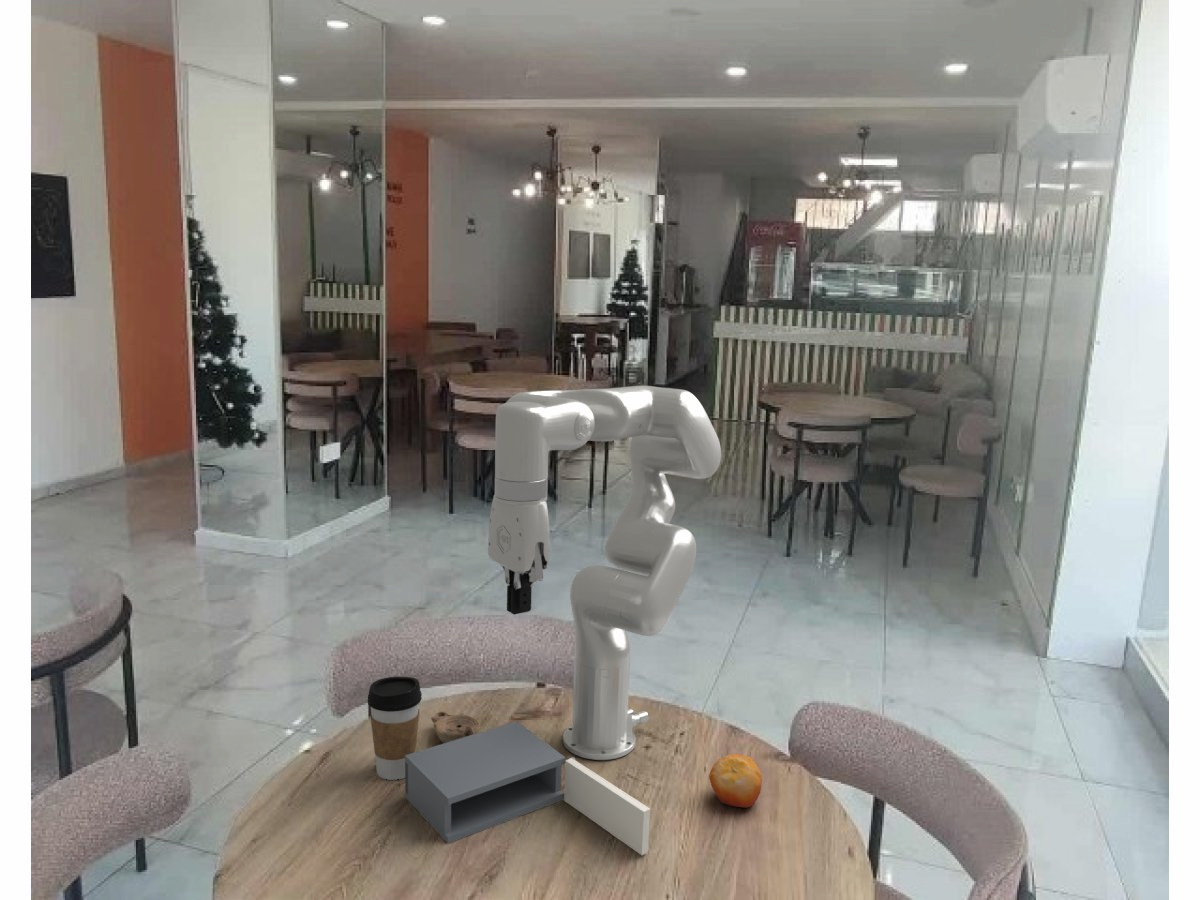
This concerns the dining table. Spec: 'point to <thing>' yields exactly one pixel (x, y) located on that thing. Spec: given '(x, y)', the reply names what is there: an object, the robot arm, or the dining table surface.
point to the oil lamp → (454, 726)
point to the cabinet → (483, 780)
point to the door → (607, 806)
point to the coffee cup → (394, 723)
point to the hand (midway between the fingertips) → (518, 611)
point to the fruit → (736, 780)
